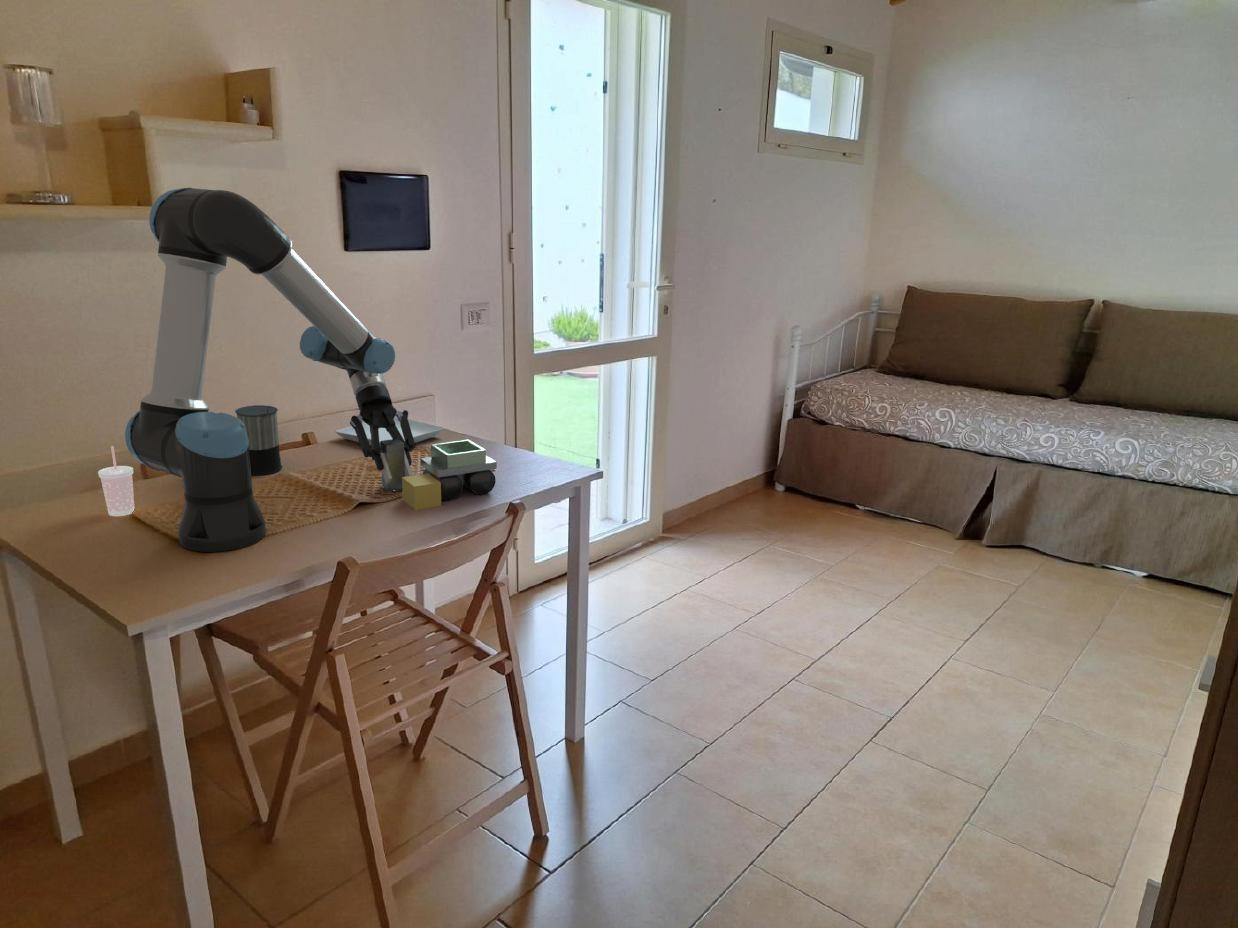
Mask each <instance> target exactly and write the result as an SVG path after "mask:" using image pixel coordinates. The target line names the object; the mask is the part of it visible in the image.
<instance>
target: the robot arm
mask: <svg viewBox="0 0 1238 928" xmlns="http://www.w3.org/2000/svg"><path fill="white" fill-rule="evenodd" d="M148 216H149V218H148V219H149V227H150V231H151V234H153V235H154V238H155V240H156V241H157V242H158V249H157V256H158V257H159V258H160V260H161V261H162V262H163V264H164V266H165V269H164V270H165V271H164V278H163V286H162V287H163V289H162V296H161V297H162V298H161V306H160V314H159V323H158V330H157V331H158V332H157V338H156V339H157V341H156V349H155V356H154V364H153V373H152V374H153V375H152V382H151V383H152V384H151V391H150V392H149V393H147V394H146V395H145V396H143V397H142V398H141V400H140V408H139V410H138V411H137V412H135V414H134V415H133V416H132V417H130V419H129V420H128V422H127V425H126V427H125V431H124V439H125V444H126V445H125V446H126V447H127V449H128V452H129V453H130V454H131V457H133V458H134V459H135V460H136V461H137V462H139V463H141V464H143V465H145V466H146V467H148V468H150V469H152V470H155V471H158V472H163V473H167V474H170V475H173V476H175V477H179V478H181V479H182V480H181V481H182V487H183V494H184V495H183V496H184V507H183V510H182V514H181V519H180V523H179V526H178V531H177V533H178V541H179V545H180V546H181V547H183V548H185V549H186V550H189V551H192V552H193V551H194V552H201V553H202V552H203V553H215V552H216V553H217V552H225V551H227V552H228V551H234V550H237V549H241V548H245V547H248V546H251V545H253V544H256V543H257V542H259V541H261V540H262V539H264V538H265V536H266V534H267V526H266V519H265V517H264V516H263V513H262V512H261V509H260V507H259V505H258V503H257V501H256V499H255V497H254V494H253V482H252V475H251V469H250V458H249V439H248V436H247V431H246V427H245V425H244V423H243V422H242V421H241V420H240V419H239V418H237V416H235V415H232V414H229V413H225V412H214V411H209V410H210V409H209V408H210V407H209V405H208V404H207V403H206V402H205V400H204V399H203V397H202V395H203V388H204V387H203V386H204V379H205V370H206V362H207V355H208V345H209V337H210V327H211V322H212V321H211V319H212V314H213V313H212V312H213V303H214V295H215V287H216V279H217V275H219V274H220V273H221V272H223V271H224V270H226V269H227V262H228V261H227V260H228V258H230V259H233V260H235V261H237V262H238V263H240V264H242V265H243V266H245V267H246V269H248V270H249V272H251V274H254V275H257V276H258V275H261V276H263V277H264V278H265V280H266V281H268V282H269V284H271V286H273V287H274V288H275V289H276V290H277V291H278V292H279V293H280V294H281V295H282V296H283V297H284V298H285V299H286V300H287V301H288V302H289V304H291V305H292V306H293V307H294V308H295V309H296V310H297V311H298V312H299V313H300V314H301V315H303V316H304V318H306V319H307V321H309V323H311V324H312V326H308V327H307V328H306V329H305V330H304V331H303V332H302V334H301V336H300V341H299V351H300V352H301V355H303V356H304V357H305V358H308V359H310V360H312V361H313V362H319V363H322V364H324V365H329V366H331V367H335V368H338V369H341V370H344V371H346V373H347V374H348V378H349V381H350V384H351V388H352V390H353V391H352V392H353V394H354V396H355V401H356V404H357V406H358V407H357V408H358V410H359V414H357V415H351V418H350V421H349V424H350V426H352V427H353V428H354V429H355V432H356V434H357V437H358V440H359V442H358V443H359V445H360V449H361V451H362V454H363V456H364V458H371V459H372V461H374V463H375V466H376V470H378V471H381V474H382V473H383V476H384V479H385V482H386V484H390V482H391V480H392V476H391V473H390V470H389V467H388V464H387V461H386V457H385V454H384V453H381V448H380V443H379V431H378V429H379V428H385V429H386V430H387V432H389V434H390V436H391V437H392V439H399V440H400V441H401V442H403V443H404V459H405V477H407V476H413V472H412V469H411V465H412V463H413V460H412V457H411V455H410V453H412V452H413V450H414V448H415V446H416V443H415V442H414V439H413V436H412V432H411V429H410V425H409V422H408V419H409V411H408V410H406V409H405V410H403V411H400V410H397V408H396V407H394V405H393V402H392V398H391V395H390V393H389V390H388V388H387V383H386V380H385V378H384V375H383V374H385V373H388V372H389V371H390V370H391V369H392V368H393V365H394V364H395V360H396V351H395V348H394V346H393V344H392V343H391V342H389V341H388V340H386V339H383V338H379V337H377V338H376V336H374V335H373V334H372V333H371V332H370V331H369V330H368V329H367V328H366V326H365V325H364V324H362V322H361V321H360V320H359V319H358V318H357V317H356V316H355V315H354V314H353V312H351V311H350V309H348V307H347V306H346V305H345V304H344V303H343V302H342V301H341V300H340V298H339V297H337V296H336V294H335V293H334V292H333V291H332V290H331V289H330V288H329V287H328V286H327V285H326V284H325V283H324V281H323V280H322V279H321V278H320V277H319V276H318V275H317V274H316V273H315V271H313V269H311V267H310V266H308V264H307V263H306V262H305V261H304V260H303V259H302V258H301V257H300V256H299V255H298V254H297V252H296V251H295V250H294V249H293V242H292V239H291V238H290V237H289V236H288V235H287V233H285V232H284V231H283V230H282V228H281V227H280V226H279V225H277V223H276V222H275V221H274V220H273V219H271V217H270V216H269V215H268V214H267V213H265V212H264V211H263V210H262V209H260V208H259V207H258V206H257V205H256V204H255V203H253V202H252V201H250V200H248V199H247V198H246V197H244V196H243V195H240V194H238V193H236V192H233V191H230V190H226V189H225V190H223V189H207V188H206V189H205V188H204V189H203V188H193V187H181V188H178V189H177V188H175V189H171V190H167V191H166V192H164V193H163V194H161V195H159V196H158V197H157V198H156V200H155V201H154V202H153V204H152V205H151V209H150V211H149V215H148ZM395 416H396V417H397V418H398V421H400V425H401V429H402V433H403V436H404V439H405V441H404V439H403V437H402V436H401V434H400V432H399V430H398V429H397V427H396V425H395V422H394V420H393V419H394V417H395ZM363 422H365V423H366V424H368V425H369V426H370V433H371V443H372V446H371V445H370V444H369V441H368V439H367V436H366V433H365V430H364V427H363V425H362V423H363Z"/></svg>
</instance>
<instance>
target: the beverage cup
mask: <svg viewBox="0 0 1238 928" xmlns="http://www.w3.org/2000/svg"><path fill="white" fill-rule="evenodd" d="M110 449H111V457H112V463H113V465H112V466H110V467H109V466H108V467H104V468H102V469H100V470H98V471H97V474H98V478H100V482H101V486H102V490H103V494H104V500H105V503H106V509H107V512H108V515H109V516H111V517H123V516H128V515H132V514H133V513H134V512H135V511H134V509H135V499H134V497H135V496H134V495H135V494H134V481H133V474H134V467H133V466H129V465H117V461H116V454H115V446H114V445H111V446H110ZM133 511H134V512H133ZM132 512H133V513H132Z"/></svg>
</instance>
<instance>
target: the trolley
mask: <svg viewBox="0 0 1238 928" xmlns="http://www.w3.org/2000/svg"><path fill="white" fill-rule="evenodd" d="M497 464H498V463H497V461H496V460H494V459H493V458H492V457H489V456H487V450H486V449H485V448H484V447H482V446H480V445H478V444H477V443H475V442H474V441H472V440H470V439H463V440H456V441H449V442H448V441H447V442H440V443H431V444H430V456H427V457H420V466H421V467H423V468H424V470H423V471H422V474H426V473H428V474H430V475H431V476H433V477H434V478H435V479H437V480H438V481H440V482H441V500H444V501H445V502H446V501H447V502H448V501H449V502H451V501H454V500H456V499H457V498H459V496H460V495H461V494H462V492H463V491H464V490H463V488H464V487H466V488H467V489H469V490H471V492H473V493H475V494H476V495H479V496H484V495H488V494H490V492H491V491H493V490H494V488H495V486H496V482H497V481H496V476H495V475H496V474H494V473H493V472H492V470H496V469H498V468H497Z"/></svg>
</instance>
